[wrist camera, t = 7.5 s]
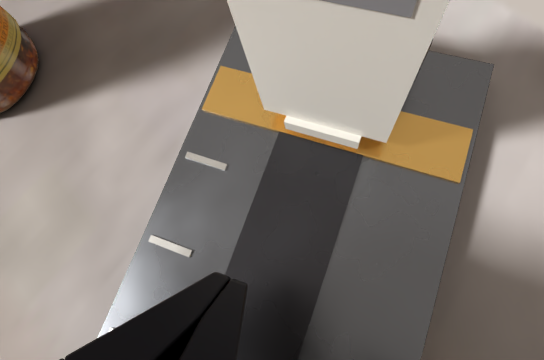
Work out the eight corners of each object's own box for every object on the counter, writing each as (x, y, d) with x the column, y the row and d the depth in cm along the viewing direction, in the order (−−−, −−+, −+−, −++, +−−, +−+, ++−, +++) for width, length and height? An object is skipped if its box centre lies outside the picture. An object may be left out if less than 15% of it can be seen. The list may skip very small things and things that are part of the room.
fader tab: (381, 155, 15) (470, -41, 6) (264, 123, 16) (187, -84, 7) (399, 96, 15) (505, -164, 6) (285, 69, 16) (240, -186, 8)
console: (320, 715, 12) (319, 941, 8) (30, 526, 14) (-84, 620, 10) (482, 79, 17) (531, 15, 13) (246, 26, 19) (226, -40, 15)
